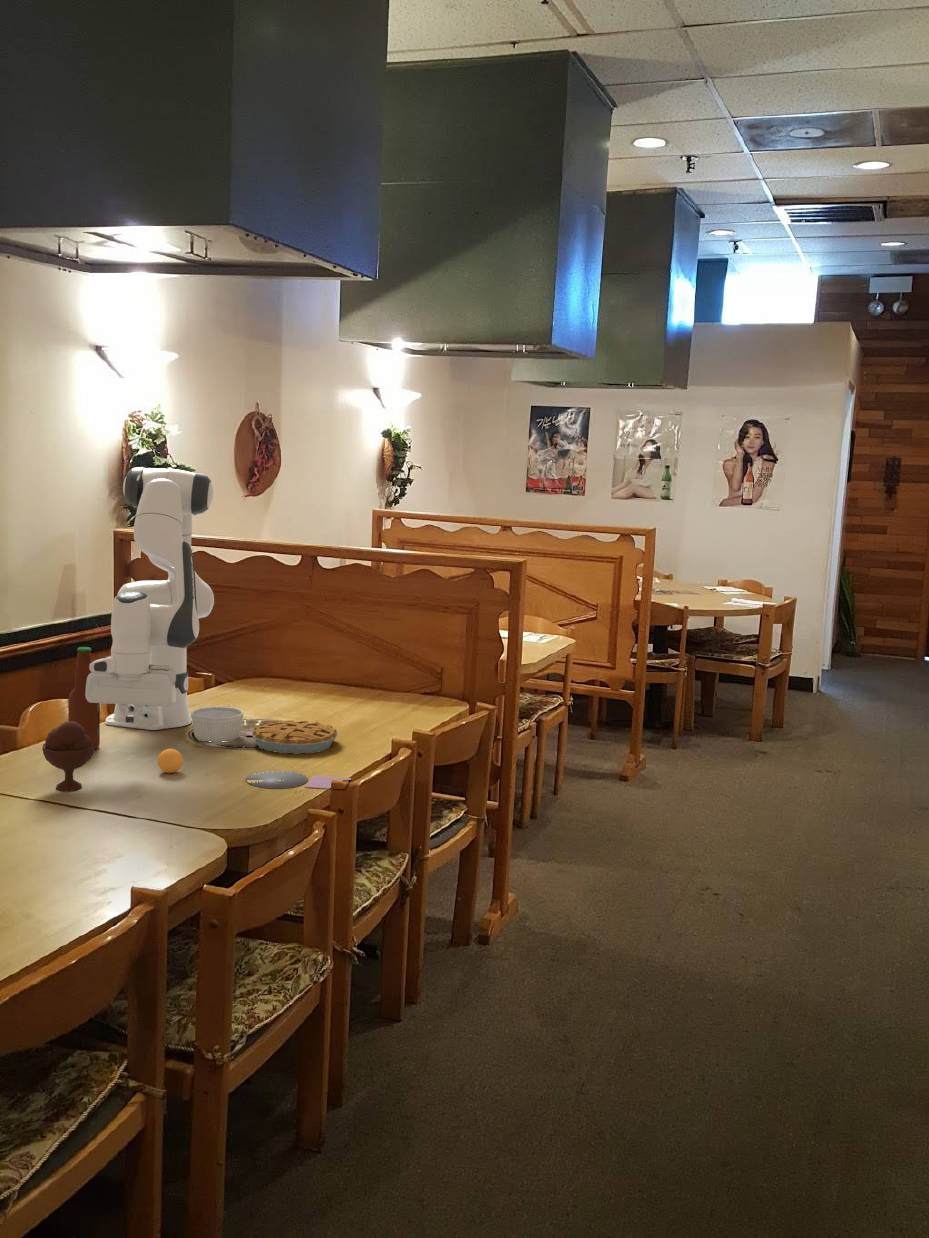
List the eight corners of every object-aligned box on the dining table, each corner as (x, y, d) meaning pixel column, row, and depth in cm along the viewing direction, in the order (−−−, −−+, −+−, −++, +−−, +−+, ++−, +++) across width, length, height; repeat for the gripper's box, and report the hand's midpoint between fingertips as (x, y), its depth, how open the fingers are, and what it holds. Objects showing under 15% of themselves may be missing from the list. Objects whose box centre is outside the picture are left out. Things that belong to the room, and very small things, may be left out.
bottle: (106, 746, 274) (106, 647, 271) (84, 753, 268) (84, 651, 264) (83, 742, 277) (83, 644, 274) (61, 748, 271) (61, 648, 267)
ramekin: (217, 747, 280) (217, 720, 279) (179, 738, 286) (180, 712, 286) (253, 737, 291) (253, 711, 290) (216, 729, 298) (217, 704, 297)
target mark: (238, 786, 247) (238, 785, 247) (254, 769, 261) (254, 768, 261) (300, 790, 246) (300, 789, 246) (313, 773, 260) (313, 772, 260)
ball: (153, 775, 252) (154, 751, 252) (162, 768, 258) (162, 745, 257) (178, 776, 252) (178, 752, 251) (185, 770, 258) (186, 746, 257)
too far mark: (305, 787, 249) (305, 786, 249) (313, 776, 258) (313, 775, 258) (344, 790, 248) (344, 789, 248) (351, 779, 257) (351, 778, 257)
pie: (321, 760, 273) (321, 740, 272) (237, 751, 277) (238, 732, 276) (347, 739, 294) (348, 721, 293) (270, 732, 298) (270, 713, 297)
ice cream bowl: (105, 784, 244) (105, 717, 242) (72, 797, 233) (72, 728, 231) (65, 777, 247) (65, 712, 245) (31, 790, 237) (30, 722, 235)
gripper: (180, 663, 255) (179, 722, 256) (93, 659, 256) (93, 718, 257) (171, 668, 248) (171, 728, 250) (82, 663, 249) (82, 723, 251)
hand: (131, 723), depth 254 cm, fingers closed
